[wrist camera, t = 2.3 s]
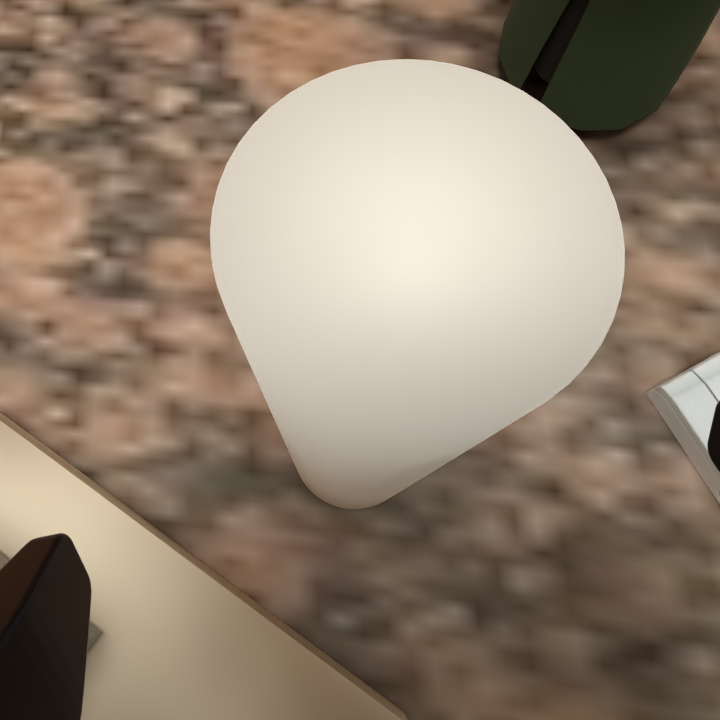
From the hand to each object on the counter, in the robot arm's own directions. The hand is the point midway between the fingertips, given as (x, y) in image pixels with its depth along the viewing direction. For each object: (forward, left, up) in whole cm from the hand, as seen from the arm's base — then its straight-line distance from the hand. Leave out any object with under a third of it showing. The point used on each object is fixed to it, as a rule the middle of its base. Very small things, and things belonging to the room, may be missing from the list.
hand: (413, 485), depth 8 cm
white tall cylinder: (+1, +1, -9) cm, 10 cm away
